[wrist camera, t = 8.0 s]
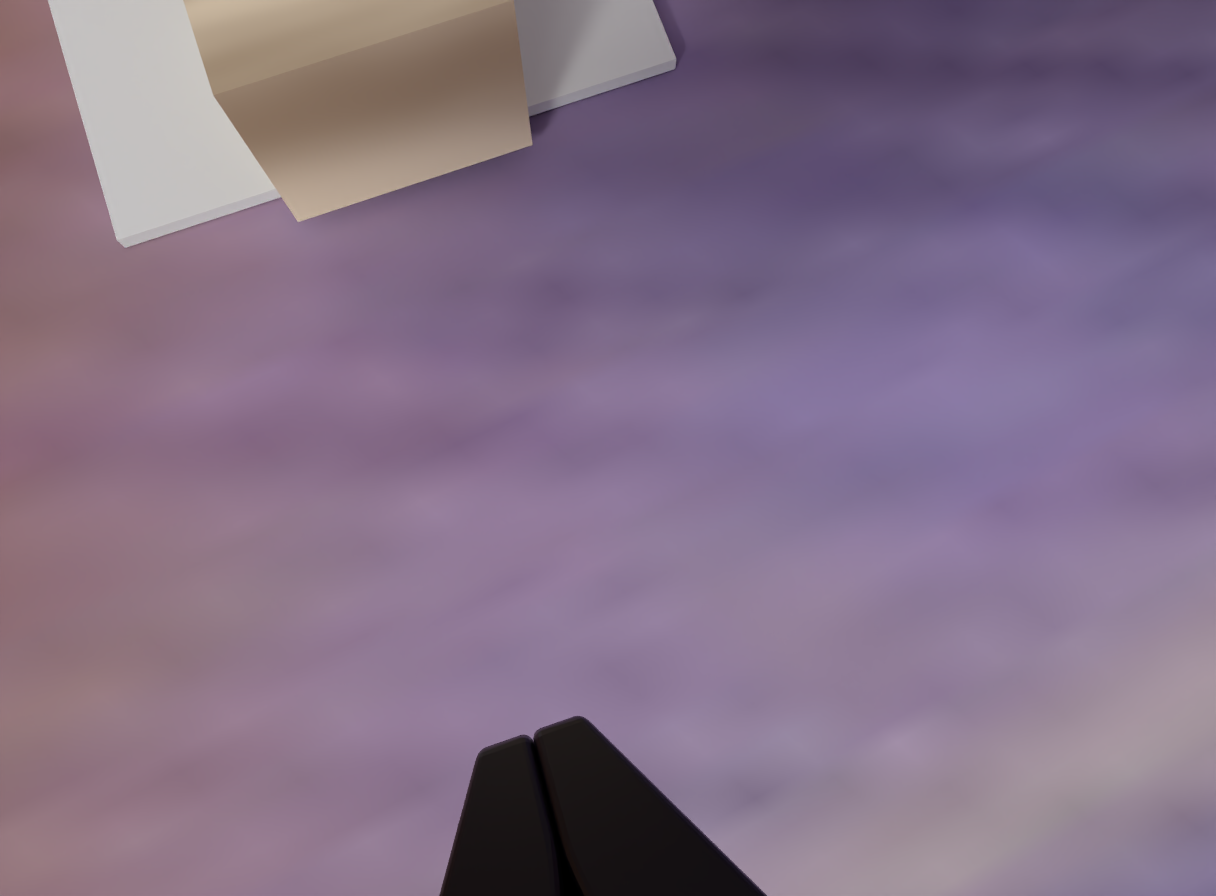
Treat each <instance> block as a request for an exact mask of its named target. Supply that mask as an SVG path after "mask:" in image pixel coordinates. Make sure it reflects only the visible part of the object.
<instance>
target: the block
mask: <svg viewBox="0 0 1216 896" xmlns="http://www.w3.org/2000/svg"><path fill="white" fill-rule="evenodd" d="M183 1H184V4H185V8H186V11H187V14H188V17H189V20H190V23H191V27H192V30H193V33H194V36H195V39H196V42H197V46H198V49H199V52H200V55H201V58H202V61H203V65H204V68H205V71H206V74H207V77H208V80H209V84H210V87H211V90H212V93H213V96H214V97H215V99H216V100H217V102H218V103H219V105H220V106H221V108H222V109H223V111H224V112H225V114H226V115H227V117H228V118H229V120H230V121H231V123H232V124H233V126H234V127H235V129H236V130H237V132H238V133H239V135H240V136H241V137H242V139H243V140H244V142H245V143H246V145H247V146H248V148H249V149H250V151H251V152H252V154H253V155H254V157H255V158H256V160H257V161H258V163H259V164H260V166H261V167H262V169H263V170H264V172H265V173H266V175H267V176H268V178H269V179H270V181H271V182H272V184H273V185H274V187H275V188H276V190H277V191H278V193H279V194H280V196H281V197H282V199H283V200H284V202H285V203H286V205H287V206H288V208H289V209H290V211H291V212H292V214H293V215H294V216H295V218H296V219H297V221H298V222H300V221H303V220H306V219H309V218H312V217H315V216H318V215H321V214H324V213H327V212H330V211H334V210H337V209H340V208H343V207H346V206H349V205H352V204H355V203H358V202H361V201H364V200H367V199H370V198H373V197H376V196H379V195H382V194H385V193H388V192H391V191H394V190H397V189H400V188H403V187H407V186H410V185H413V184H416V183H419V182H422V181H425V180H428V179H431V178H434V177H437V176H440V175H443V174H446V173H449V172H452V171H455V170H458V169H461V168H464V167H467V166H470V165H473V164H477V163H480V162H483V161H486V160H489V159H492V158H495V157H498V156H501V155H504V154H507V153H510V152H513V151H516V150H519V149H522V148H525V147H528V146H531V145H532V137H531V129H530V122H529V114H528V106H527V98H526V91H525V83H524V75H523V67H522V60H521V52H520V44H519V37H518V29H517V21H516V13H515V6H514V0H183Z"/></svg>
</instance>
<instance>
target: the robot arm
mask: <svg viewBox="0 0 1216 896" xmlns="http://www.w3.org/2000/svg"><path fill="white" fill-rule="evenodd" d="M533 739H534V742H533V740H532V739H531V738H530V737H529V736H527V735H520V736H517V737H514V738H511V739H508V740H505V741H503V742H500V743H497V744H494V745H491V746H488V747H486V748H484V749H482V750H481V751H480V753H479V754H478V756H477V758H476V761H475V765H474V768H473V772H472V776H471V780H470V783H469V787H468V791H467V794H466V798H465V802H464V806H463V809H462V813H461V817H460V821H459V824H458V828H457V832H456V836H455V839H454V843H453V847H452V850H451V854H450V858H449V862H448V865H447V869H446V873H445V877H444V880H443V884H442V888H441V892H440V895H439V896H767V895H766V894H765V893H764V892H763V891H762V890H761V889H760V888H759V887H758V886H757V885H756V884H755V883H754V882H753V881H752V880H751V879H750V878H749V877H748V876H747V875H746V874H745V873H743V872H742V871H741V870H740V869H739V868H738V867H737V866H736V865H735V864H734V863H733V862H732V861H731V860H730V859H729V858H728V857H727V856H726V855H725V854H724V853H723V852H722V851H721V850H720V849H719V848H718V847H717V846H716V845H715V844H714V843H713V842H712V841H711V840H710V839H709V838H708V837H707V836H706V835H705V834H704V833H703V832H702V831H701V830H700V829H699V828H698V827H697V826H696V825H695V824H694V823H693V822H692V821H691V820H690V819H689V818H688V817H686V816H685V815H684V814H683V813H682V812H681V811H680V810H679V809H678V808H677V807H676V806H675V805H674V804H673V803H672V802H671V801H670V800H669V799H668V798H667V797H666V796H665V795H664V794H663V793H662V792H661V791H660V790H659V789H658V788H657V787H656V786H655V785H654V784H653V783H652V782H651V781H650V780H649V779H648V778H647V777H646V776H645V775H644V774H643V773H642V772H641V771H640V770H639V769H638V768H637V767H636V766H635V765H634V764H633V763H632V762H631V761H629V760H628V759H627V758H626V757H625V756H624V755H623V754H622V753H621V752H620V751H619V750H618V749H617V748H616V747H615V746H614V745H613V744H612V743H611V742H610V741H609V740H608V739H607V738H606V737H605V736H604V735H603V734H602V733H601V732H600V731H599V730H598V729H597V728H596V727H595V726H594V725H593V724H592V723H591V722H590V721H589V720H587V719H586V718H584V717H582V716H574V717H572V718H569V719H566V720H563V721H560V722H557V723H554V724H551V725H548V726H546V727H543V728H540V729H538V730H537V731H536V732H535V734H534V738H533Z"/></svg>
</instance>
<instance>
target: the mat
mask: <svg viewBox="0 0 1216 896" xmlns="http://www.w3.org/2000/svg"><path fill="white" fill-rule="evenodd" d="M48 2H49V6H50V9H51V13H52V16H53V20H54V23H55V27H56V30H57V33H58V37H59V40H60V44H61V47H62V51H63V54H64V58H65V61H66V65H67V68H68V72H69V75H70V79H71V82H72V86H73V89H74V93H75V96H76V100H77V103H78V107H79V110H80V113H81V117H82V120H83V124H84V127H85V131H86V134H87V138H88V141H89V145H90V148H91V152H92V155H93V159H94V162H95V166H96V169H97V173H98V176H99V180H100V183H101V187H102V190H103V193H104V197H105V200H106V204H107V207H108V211H109V214H110V218H111V221H112V225H113V228H114V232H115V235H116V239H117V241H118V242H119V243H121V244H122V245H123V246H124V247H125V248H126V247H129V246H132V245H135V244H139V243H142V242H145V241H148V240H151V239H154V238H157V237H160V236H163V235H166V234H169V233H172V232H175V231H179V230H182V229H185V228H188V227H191V226H194V225H197V224H200V223H203V222H206V221H209V220H212V219H215V218H219V217H222V216H225V215H228V214H231V213H234V212H237V211H240V210H243V209H246V208H249V207H252V206H255V205H258V204H262V203H265V202H268V201H271V200H274V199H277V198H280V197H281V196H280V194H279V193H278V191H277V190H276V188H275V187H274V185H273V184H272V182H271V181H270V179H269V178H268V176H267V175H266V173H265V172H264V170H263V169H262V167H261V166H260V164H259V163H258V161H257V160H256V158H255V157H254V155H253V154H252V152H251V151H250V149H249V148H248V146H247V145H246V143H245V142H244V140H243V139H242V137H241V136H240V135H239V133H238V132H237V130H236V129H235V127H234V126H233V124H232V123H231V121H230V120H229V118H228V117H227V115H226V114H225V112H224V111H223V109H222V108H221V106H220V105H219V103H218V102H217V100H216V99H215V97H214V96H213V93H212V90H211V87H210V84H209V80H208V77H207V74H206V71H205V68H204V65H203V61H202V58H201V55H200V52H199V49H198V46H197V42H196V39H195V36H194V33H193V30H192V27H191V23H190V20H189V17H188V14H187V11H186V8H185V4H184V1H183V0H48ZM514 6H515V13H516V21H517V29H518V37H519V44H520V52H521V60H522V67H523V75H524V83H525V91H526V98H527V106H528V114H529V116H532V115H535V114H538V113H541V112H544V111H548V110H551V109H554V108H557V107H560V106H563V105H566V104H569V103H572V102H575V101H578V100H581V99H584V98H588V97H591V96H594V95H597V94H600V93H603V92H606V91H609V90H612V89H615V88H618V87H621V86H624V85H628V84H631V83H634V82H637V81H640V80H643V79H646V78H649V77H652V76H655V75H658V74H661V73H664V72H668V71H671V70H674V69H675V66H676V57H675V54H674V52H673V49H672V47H671V44H670V42H669V39H668V37H667V34H666V32H665V29H664V27H663V25H662V22H661V20H660V17H659V15H658V12H657V10H656V7H655V5H654V2H653V0H514Z"/></svg>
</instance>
